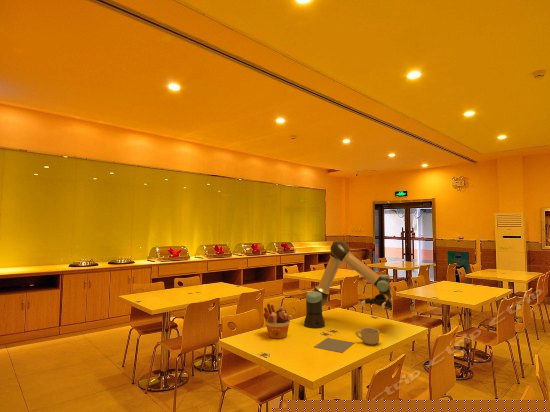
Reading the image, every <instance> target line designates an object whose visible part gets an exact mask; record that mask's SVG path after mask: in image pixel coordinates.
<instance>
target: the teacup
mask: <svg viewBox="0 0 550 412" xmlns="http://www.w3.org/2000/svg"><path fill="white" fill-rule="evenodd" d="M358 333H360V335H361V336H360V335H359V334H358ZM355 335H356V337H357V338H358V339H360V341H362V342H363V343H364V344H366V345H369V346H375V345H376V344H378V343H379V340H380V330H379V329H376V328H375V327H374V328H373V327H363V328H361V330H360V329H358V330H356V331H355Z"/></svg>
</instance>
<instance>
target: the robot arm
mask: <svg viewBox="0 0 550 412" xmlns="http://www.w3.org/2000/svg"><path fill="white" fill-rule="evenodd" d="M329 257H330V258H329V260H328V262H327V263H326V264H327V265H326V267H325V269H324V271H323V274H322V277H321V279H320V281H319V282H318V285H317V286H315V288H314V289H313V291H308V292H307V293H306V295H305V303H306V304H305V306H306V307H305V308H306V309H305V311H306V313H305V316H304V321H303V326H304V327H306V328H309V329H321V328H324V327H325V326H326V322H325V318H324V316H323V315H324V314H323V306H325V305H326V304H327V303H328V298H329V295H330V291H329V290H330V289H331V286H332V283H333V282H334V279H335V277H336V274H337V272H338V270H339V268H340V265H341V263H345V264H346V265H347V266H349V267H350V268H351V269H353V270H354V271H355V272H357V273H358V275H360V276H361V277H363V278H364V279H366V280H367V281H368V282H369V283H370V284H372V285H374V287H376V289H377V291H379V293H378V294H377V295H375V296H374V298H371V297H368V298H362V299H361V298H360V301H359V302H360V307H363V306H365V305H369V304H372V305H377V306H378V307H381V308H382V309H385V308H386V307H390V308H391V307H392V302H391V299H392V298H393V296H392V292H391V284H390V282H391V281H390V275H388V274H378V273H377V272H375V271H374V270H373V269H372V268H370V267H369V266H367V265H366V264H365V263H364V262H362V261H361V260H360V259H358V258H357V257H356V256H355V255H353V254H352V253H351V250H350V246H349V244H348V243H347V242H345V241H343V240H338V241H335V242H333V243H332V244H331V245H330V253H329Z"/></svg>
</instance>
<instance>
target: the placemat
mask: <svg viewBox="0 0 550 412" xmlns="http://www.w3.org/2000/svg"><path fill="white" fill-rule="evenodd" d="M354 344H355V342H353V341H348V340H342V339H336V338H331V337H327V338H324V339H323V340H322V341H320V342H319V343H317V344H316V345H314V346H313V348H314V349H315V348H316V349H321V350H324V351H325V350H326V351H331V352H335V353H340V354H343V353H345V351H347V350H348V349H349V348H350V347H351V346H353V345H354Z"/></svg>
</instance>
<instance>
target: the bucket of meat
mask: <svg viewBox="0 0 550 412" xmlns="http://www.w3.org/2000/svg"><path fill="white" fill-rule="evenodd" d="M283 308H284V307H283V306H280V307H278V308H277V309H278V310H276V309H275V306H274V304H270V303H267V304H266V307H264V308H263V309H264V313H263V318H264V319H265V321H264V322H265V324H266V325H265V326H266V329H267V334H268V336H269V337H270V338H271V339H275V340H276V339H277V340H279V339H284V338H286V337H287V335H288V332H289V328H290V327H289V326H290V322H291V319H292V318H293V316H292V315H291V314H289V315H288V313H287V310H286V309H283Z"/></svg>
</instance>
